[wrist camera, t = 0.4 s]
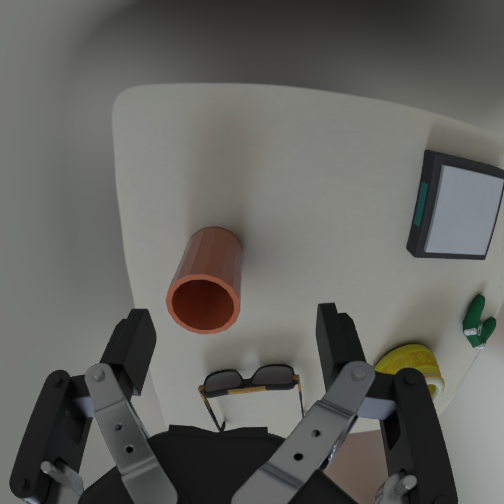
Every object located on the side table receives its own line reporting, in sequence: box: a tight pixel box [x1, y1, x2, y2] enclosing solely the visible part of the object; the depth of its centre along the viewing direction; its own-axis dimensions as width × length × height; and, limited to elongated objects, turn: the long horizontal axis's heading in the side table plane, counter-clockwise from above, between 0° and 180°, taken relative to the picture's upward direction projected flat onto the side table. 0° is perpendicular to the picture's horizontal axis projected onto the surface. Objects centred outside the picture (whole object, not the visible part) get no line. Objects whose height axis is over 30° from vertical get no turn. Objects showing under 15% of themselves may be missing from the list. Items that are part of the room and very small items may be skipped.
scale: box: [406, 150, 504, 260], centre depth 31 cm, size 12×12×3 cm
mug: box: [374, 344, 445, 404], centre depth 38 cm, size 13×11×12 cm
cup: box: [166, 227, 243, 334], centre depth 30 cm, size 6×6×10 cm
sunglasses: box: [198, 364, 304, 432], centre depth 43 cm, size 14×15×5 cm
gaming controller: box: [463, 294, 496, 350], centre depth 39 cm, size 9×4×6 cm
